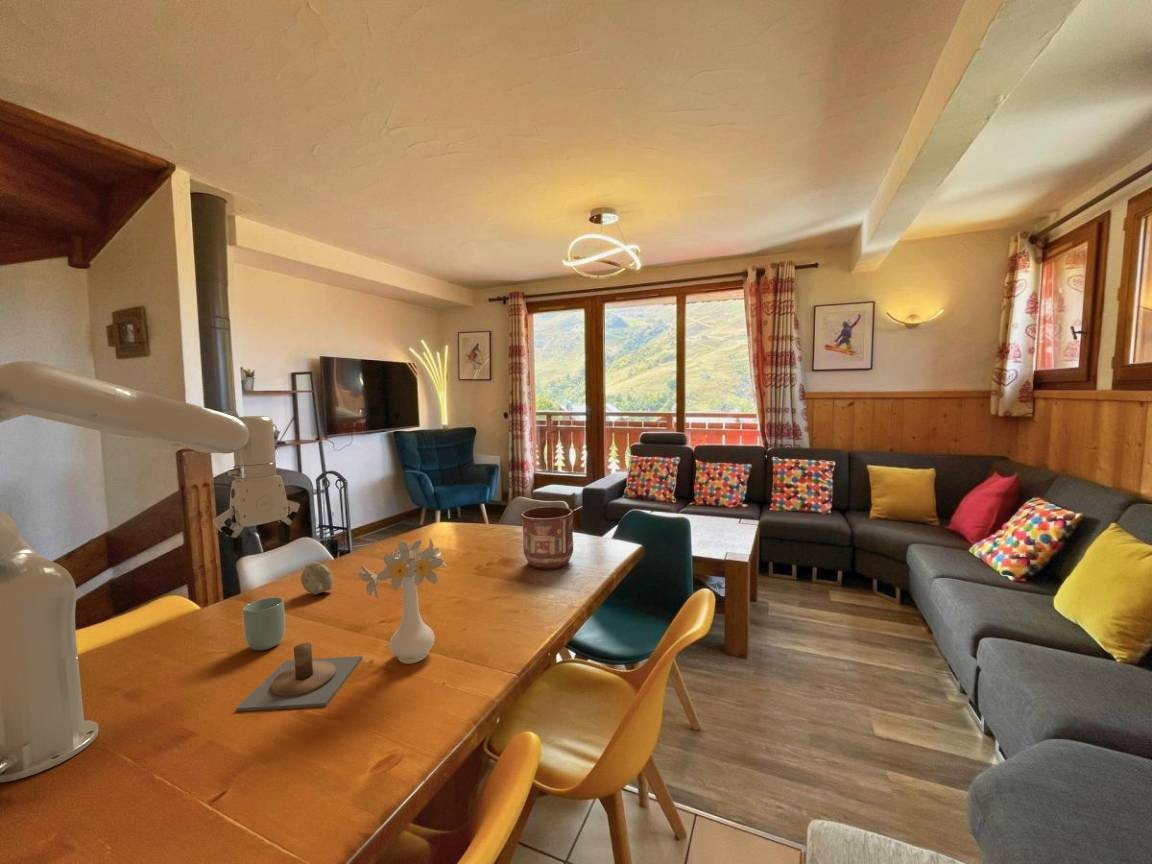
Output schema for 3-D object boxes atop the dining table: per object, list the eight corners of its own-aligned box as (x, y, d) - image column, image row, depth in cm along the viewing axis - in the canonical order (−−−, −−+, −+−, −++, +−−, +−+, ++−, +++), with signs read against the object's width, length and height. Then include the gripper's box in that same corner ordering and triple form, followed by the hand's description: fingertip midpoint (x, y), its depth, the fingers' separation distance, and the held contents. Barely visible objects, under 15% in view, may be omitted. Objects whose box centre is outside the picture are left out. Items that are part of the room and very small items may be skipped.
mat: (326, 706, 85) (326, 702, 85) (236, 711, 85) (235, 708, 85) (362, 658, 101) (361, 656, 101) (286, 662, 101) (286, 660, 100)
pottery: (518, 559, 164) (516, 508, 163) (566, 553, 169) (564, 504, 168) (528, 577, 147) (526, 521, 146) (581, 569, 152) (579, 515, 151)
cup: (266, 656, 103) (263, 612, 103) (237, 653, 105) (233, 610, 104) (294, 638, 111) (291, 598, 111) (266, 636, 113) (263, 596, 112)
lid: (319, 695, 88) (317, 660, 87) (258, 698, 87) (256, 663, 87) (345, 663, 99) (343, 631, 98) (291, 666, 98) (289, 634, 98)
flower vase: (354, 672, 96) (347, 553, 95) (424, 633, 112) (419, 530, 111) (396, 690, 90) (389, 562, 88) (464, 646, 105) (459, 537, 104)
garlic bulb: (332, 597, 135) (330, 564, 134) (298, 603, 132) (296, 568, 131) (336, 586, 144) (334, 554, 143) (304, 591, 141) (302, 558, 140)
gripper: (219, 478, 94) (225, 562, 95) (305, 467, 109) (309, 539, 110) (201, 477, 97) (208, 557, 98) (287, 466, 112) (291, 535, 113)
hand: (261, 547), depth 104 cm, fingers open, 9 cm apart
